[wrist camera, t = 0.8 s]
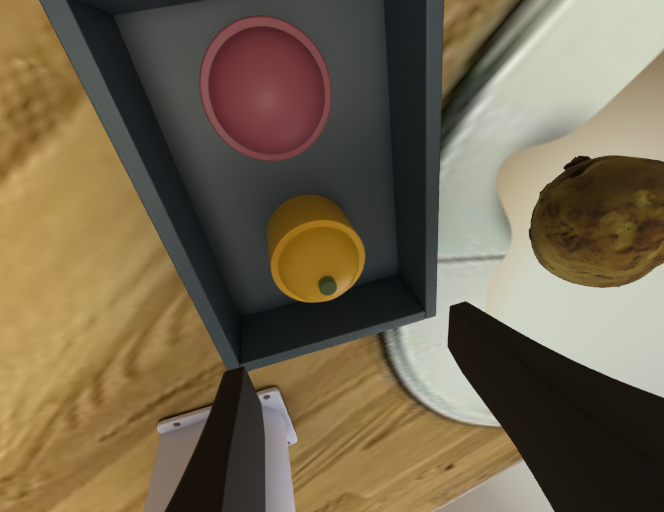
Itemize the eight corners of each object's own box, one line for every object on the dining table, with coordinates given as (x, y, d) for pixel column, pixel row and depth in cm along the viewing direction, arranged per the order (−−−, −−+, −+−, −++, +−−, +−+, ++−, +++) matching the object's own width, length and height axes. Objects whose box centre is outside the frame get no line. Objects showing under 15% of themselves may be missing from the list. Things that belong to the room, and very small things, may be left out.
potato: (521, 298, 27) (610, 373, 21) (481, 177, 21) (596, 230, 14) (610, 243, 27) (733, 303, 20) (599, 99, 20) (782, 116, 13)
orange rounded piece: (277, 275, 20) (288, 341, 15) (256, 205, 17) (260, 257, 13) (351, 256, 21) (383, 313, 16) (340, 185, 18) (375, 228, 13)
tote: (233, 321, 22) (230, 376, 18) (90, -2, 12) (22, -32, 9) (404, 274, 23) (436, 316, 19) (391, -48, 14) (447, -92, 10)
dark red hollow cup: (228, 156, 16) (223, 188, 12) (189, 35, 13) (163, 21, 9) (325, 135, 16) (353, 159, 12) (306, 15, 14) (334, -7, 10)
